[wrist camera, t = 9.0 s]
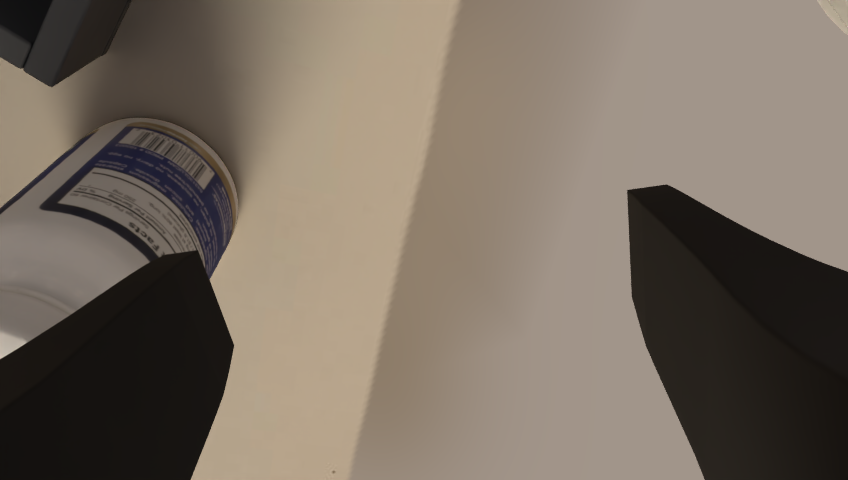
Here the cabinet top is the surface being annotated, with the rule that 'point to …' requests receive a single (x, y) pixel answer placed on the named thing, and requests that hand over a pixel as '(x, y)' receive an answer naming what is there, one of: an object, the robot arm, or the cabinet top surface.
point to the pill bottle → (108, 220)
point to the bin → (57, 34)
